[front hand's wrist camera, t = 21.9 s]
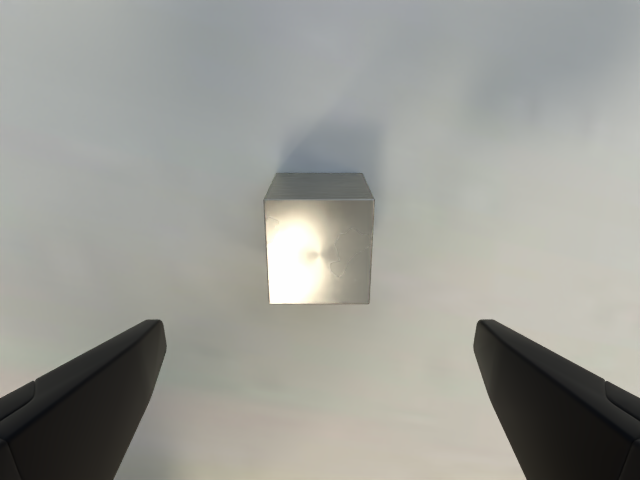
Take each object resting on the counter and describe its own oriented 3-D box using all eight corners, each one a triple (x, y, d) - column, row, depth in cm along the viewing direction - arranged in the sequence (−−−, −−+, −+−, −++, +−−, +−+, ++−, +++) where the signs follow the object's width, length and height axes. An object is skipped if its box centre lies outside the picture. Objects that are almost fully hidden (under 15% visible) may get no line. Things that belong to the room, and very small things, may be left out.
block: (359, 259, 22) (369, 304, 17) (279, 259, 22) (268, 304, 17) (362, 172, 20) (374, 199, 16) (275, 172, 20) (263, 199, 16)
